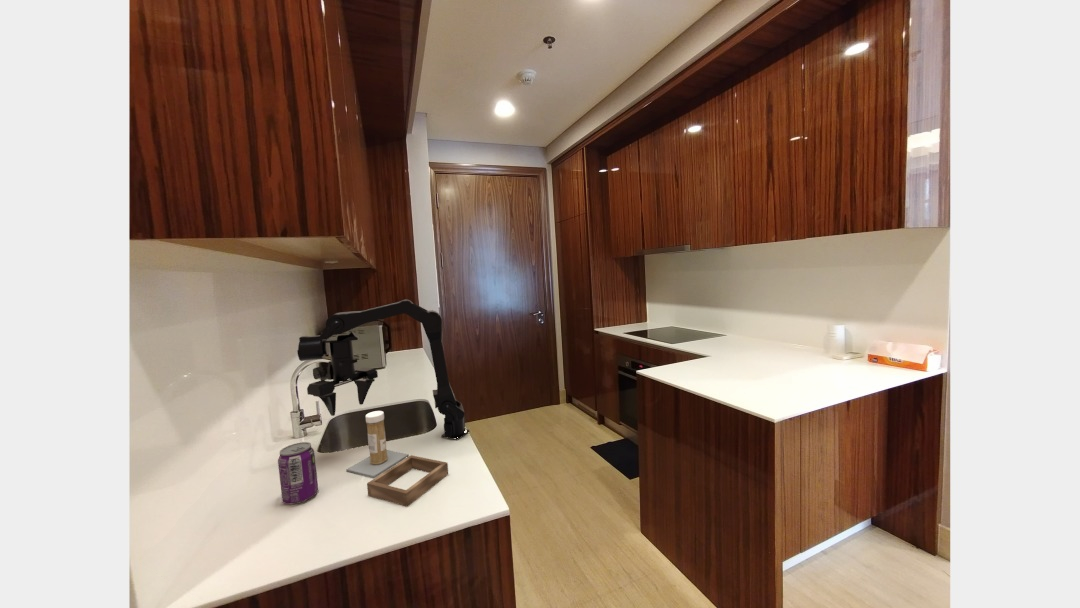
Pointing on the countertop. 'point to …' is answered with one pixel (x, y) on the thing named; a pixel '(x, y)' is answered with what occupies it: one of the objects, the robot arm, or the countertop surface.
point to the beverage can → (297, 473)
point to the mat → (374, 470)
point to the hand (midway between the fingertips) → (347, 409)
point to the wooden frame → (406, 497)
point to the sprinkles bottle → (376, 437)
